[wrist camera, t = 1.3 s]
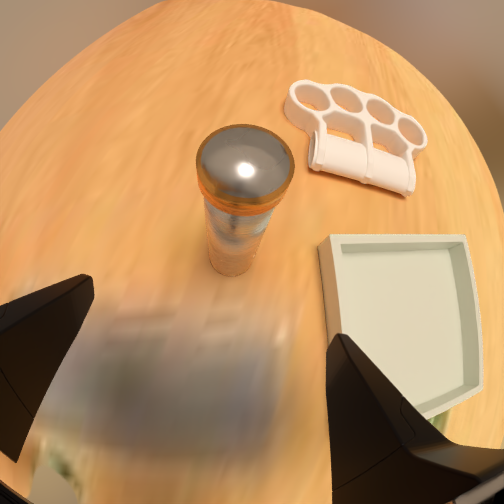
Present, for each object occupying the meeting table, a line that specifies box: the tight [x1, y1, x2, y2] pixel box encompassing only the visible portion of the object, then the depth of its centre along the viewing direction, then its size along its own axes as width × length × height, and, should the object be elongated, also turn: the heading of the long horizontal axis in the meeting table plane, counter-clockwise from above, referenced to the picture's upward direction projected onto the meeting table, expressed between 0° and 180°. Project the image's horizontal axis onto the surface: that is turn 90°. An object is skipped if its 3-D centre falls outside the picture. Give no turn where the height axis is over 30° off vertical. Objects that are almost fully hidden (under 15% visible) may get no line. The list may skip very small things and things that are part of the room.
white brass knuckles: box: [284, 80, 427, 197], centre depth 28 cm, size 3×18×15 cm
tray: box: [318, 234, 483, 420], centre depth 21 cm, size 17×17×3 cm
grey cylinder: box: [196, 124, 295, 276], centre depth 17 cm, size 4×4×13 cm
